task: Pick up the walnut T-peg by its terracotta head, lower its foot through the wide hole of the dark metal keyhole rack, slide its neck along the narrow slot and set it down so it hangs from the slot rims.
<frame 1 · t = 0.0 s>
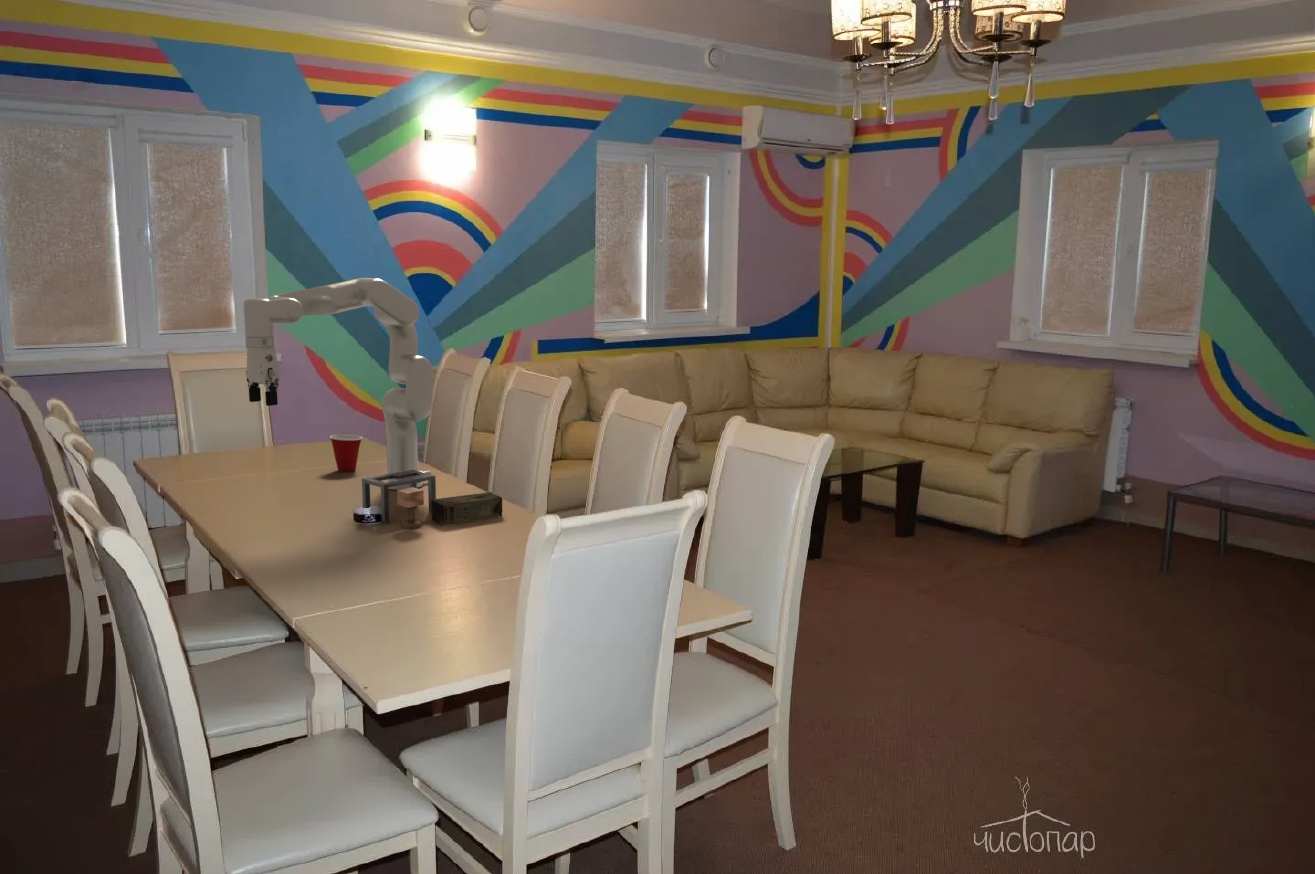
hand: (263, 403, 286), 31 cm above the table, fingers open, 9 cm apart
plastic cup: (347, 470, 347), on the table
beverage carton: (467, 519, 287), on the table
t peg: (411, 526, 277), on the table
keyhole rack: (400, 514, 289), on the table
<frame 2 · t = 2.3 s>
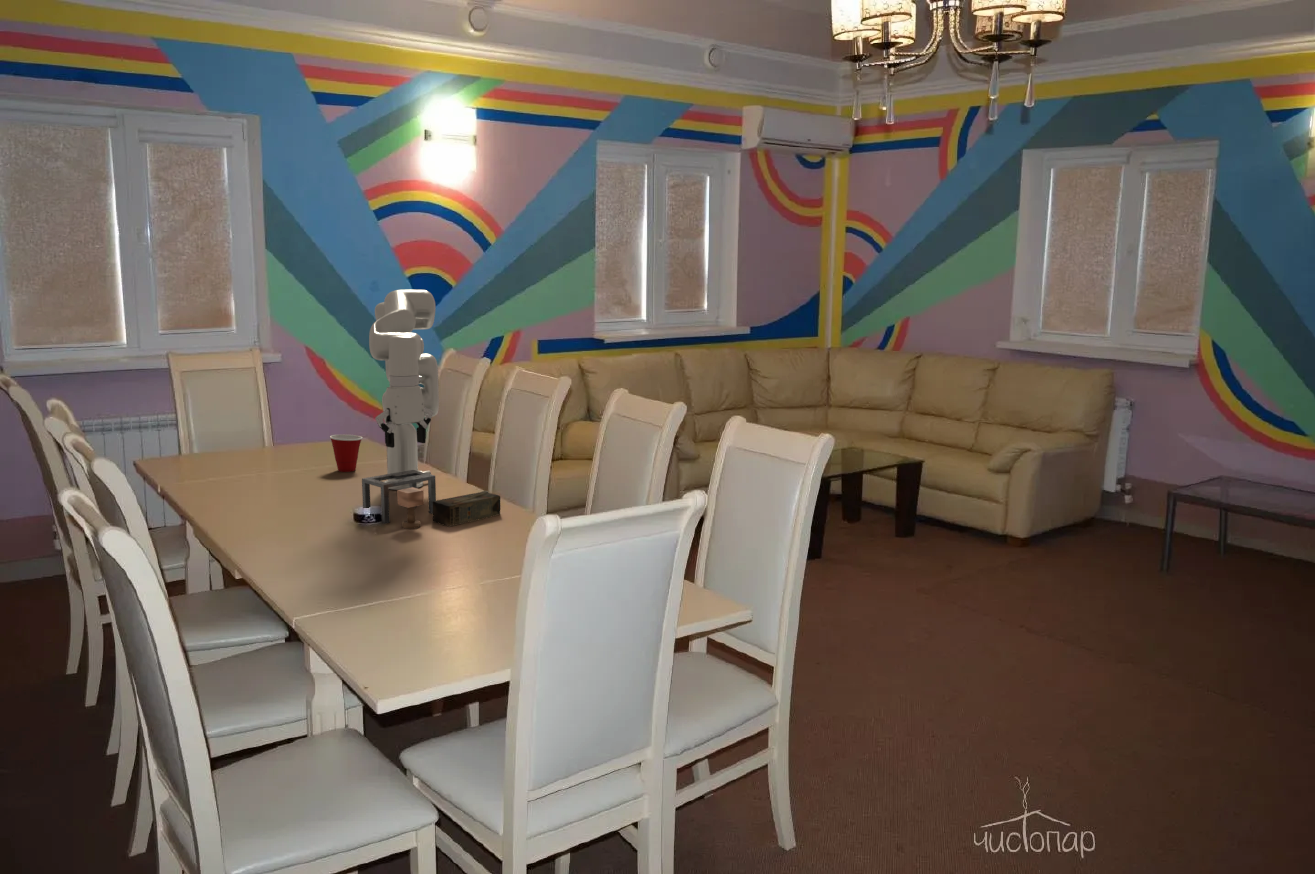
hand: (405, 444, 273), 23 cm above the table, fingers open, 9 cm apart
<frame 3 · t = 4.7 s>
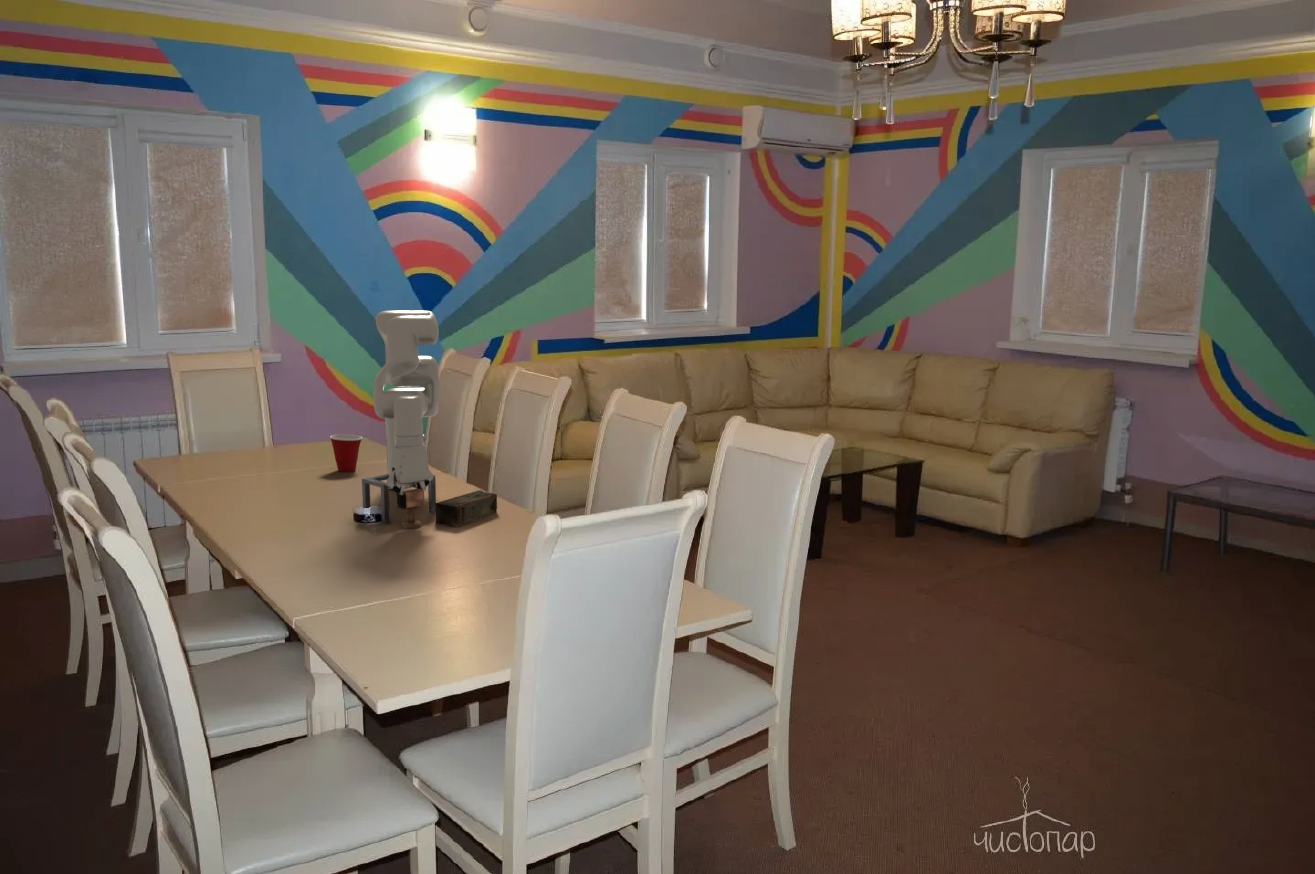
hand: (410, 505, 276), 6 cm above the table, fingers closed on t peg, 5 cm apart
t peg: (411, 526, 277), on the table, touching gripper
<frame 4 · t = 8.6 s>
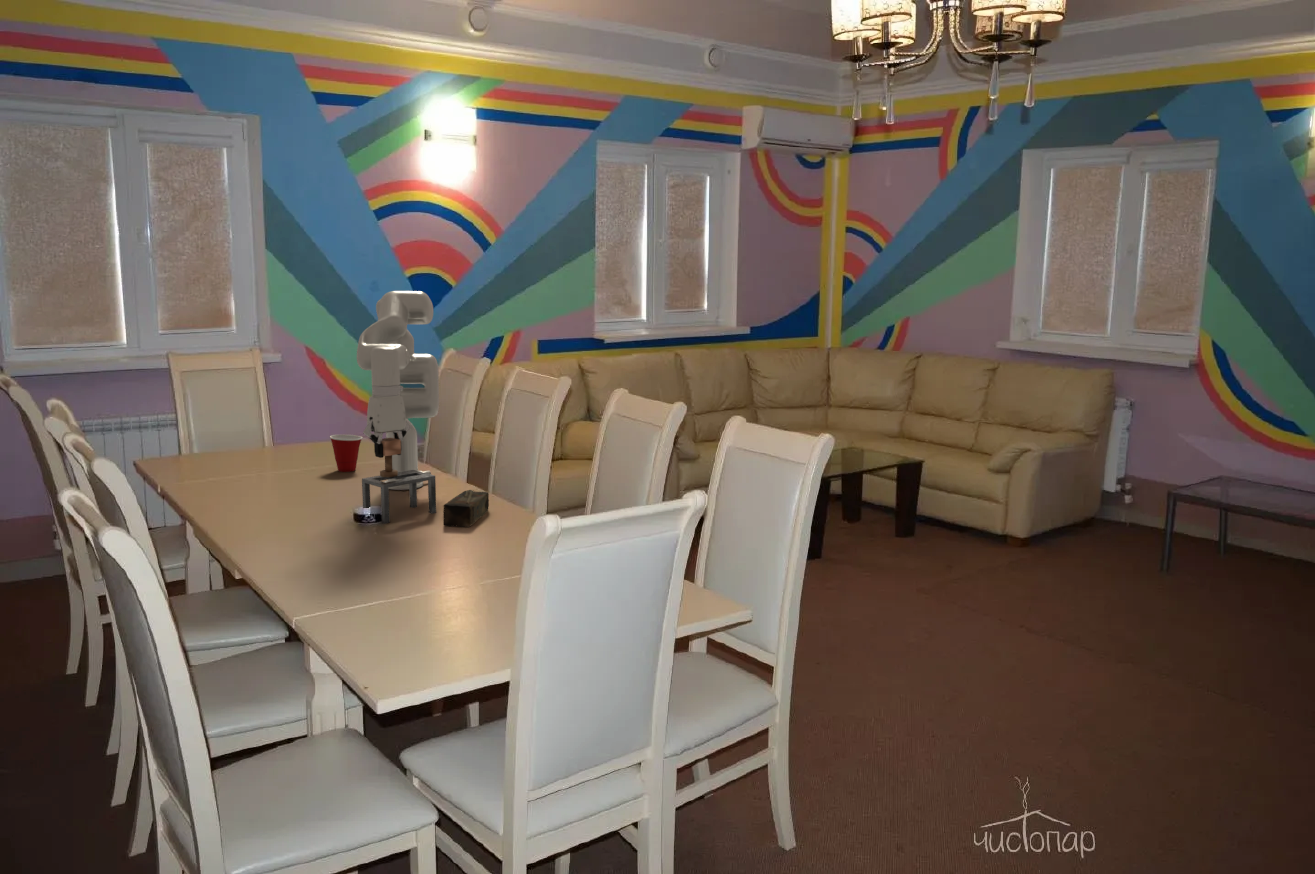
hand: (388, 455, 284), 18 cm above the table, fingers closed on t peg, 5 cm apart
t peg: (388, 475, 285), point 12 cm above the table, touching gripper
when the fingers open (11 cm above the table, at t = 12.7 s): t peg stays where it is, resting on keyhole rack.
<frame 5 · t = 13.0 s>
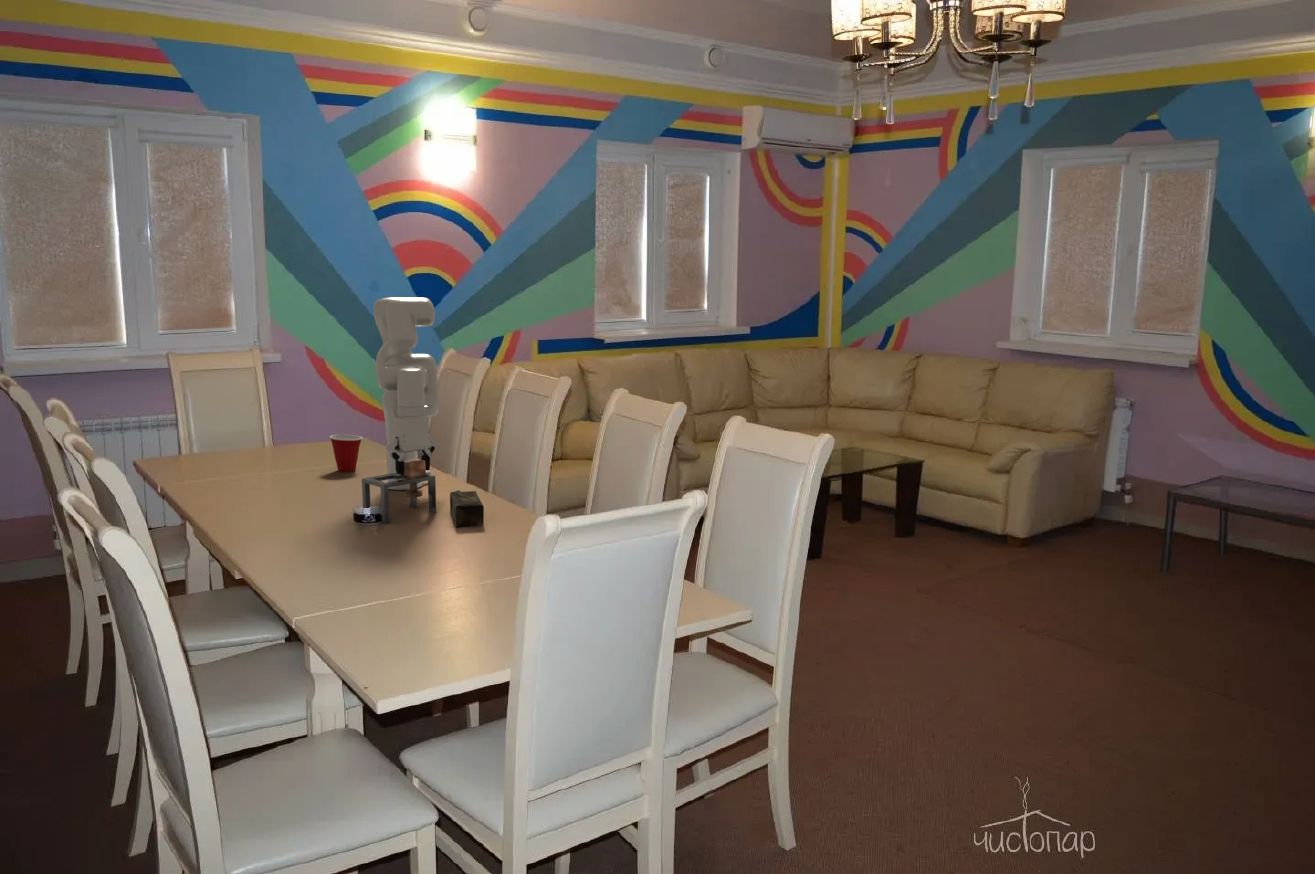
hand: (413, 471, 291), 12 cm above the table, fingers open, 8 cm apart
t peg: (413, 495, 292), point 5 cm above the table, touching keyhole rack
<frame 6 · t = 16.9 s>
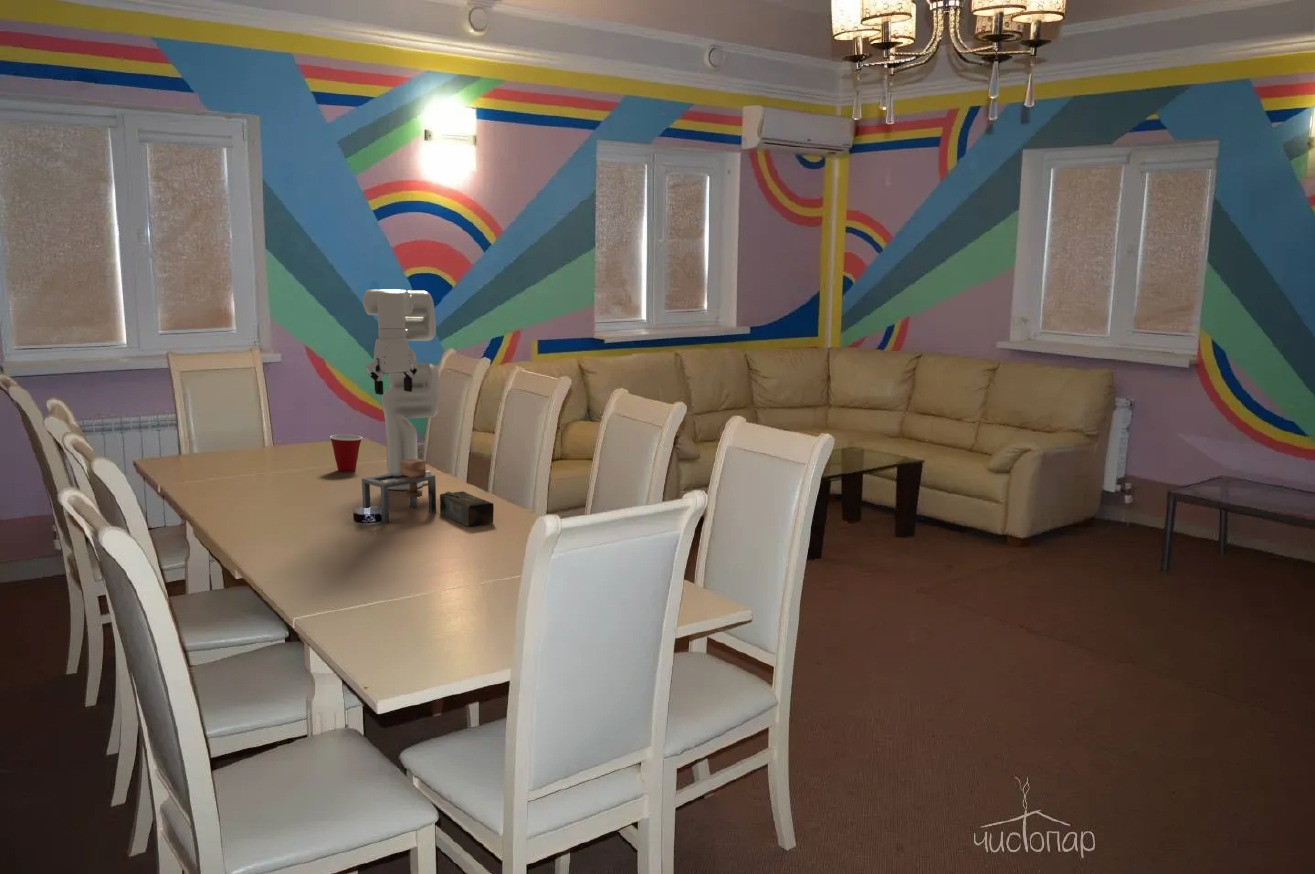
hand: (393, 392, 297), 33 cm above the table, fingers open, 9 cm apart
at the end: t peg 0.0 cm from the target spot on the keyhole rack, point 4.8 cm above the keyhole rack's base; the gripper is holding nothing; t peg tilted 0° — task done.
